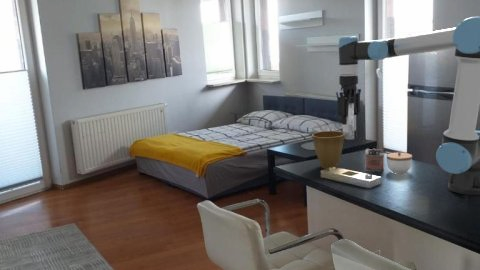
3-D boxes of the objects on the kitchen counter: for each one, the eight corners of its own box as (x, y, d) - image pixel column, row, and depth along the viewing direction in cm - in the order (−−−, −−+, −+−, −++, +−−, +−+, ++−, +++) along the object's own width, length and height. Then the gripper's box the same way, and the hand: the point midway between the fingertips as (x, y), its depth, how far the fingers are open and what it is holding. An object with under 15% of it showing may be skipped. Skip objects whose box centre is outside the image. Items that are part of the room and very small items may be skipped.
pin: (356, 138, 203) (355, 102, 200) (350, 139, 200) (349, 104, 197) (348, 137, 206) (348, 102, 203) (342, 138, 203) (341, 103, 200)
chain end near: (381, 183, 199) (381, 174, 198) (369, 188, 194) (369, 178, 193) (350, 177, 211) (350, 168, 210) (338, 181, 206) (338, 172, 205)
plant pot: (323, 161, 240) (322, 129, 237) (350, 165, 230) (350, 132, 227) (306, 168, 229) (305, 135, 226) (334, 172, 219) (333, 138, 216)
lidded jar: (415, 175, 208) (415, 153, 207) (390, 176, 209) (390, 155, 207) (407, 168, 219) (407, 148, 217) (383, 169, 219) (383, 149, 217)
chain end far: (361, 179, 207) (361, 170, 206) (349, 183, 202) (349, 174, 201) (332, 173, 219) (332, 164, 218) (320, 176, 214) (320, 168, 213)
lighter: (364, 170, 219) (364, 149, 217) (366, 168, 222) (366, 147, 220) (383, 172, 216) (382, 150, 214) (384, 170, 219) (384, 148, 217)
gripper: (354, 72, 206) (354, 126, 210) (327, 76, 195) (328, 133, 200) (368, 73, 200) (369, 128, 205) (342, 77, 190) (343, 135, 194)
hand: (349, 130), depth 202 cm, fingers closed on pin, 4 cm apart
